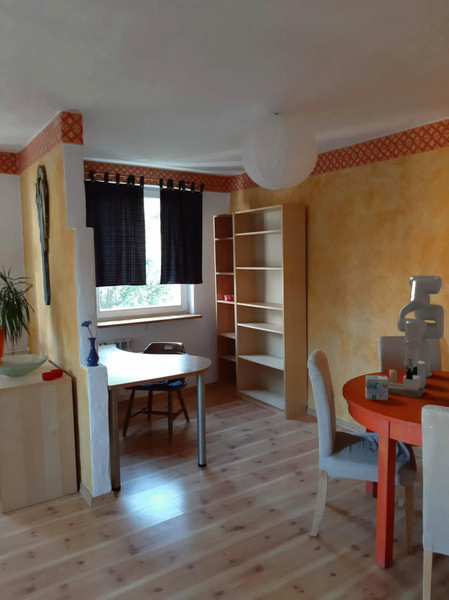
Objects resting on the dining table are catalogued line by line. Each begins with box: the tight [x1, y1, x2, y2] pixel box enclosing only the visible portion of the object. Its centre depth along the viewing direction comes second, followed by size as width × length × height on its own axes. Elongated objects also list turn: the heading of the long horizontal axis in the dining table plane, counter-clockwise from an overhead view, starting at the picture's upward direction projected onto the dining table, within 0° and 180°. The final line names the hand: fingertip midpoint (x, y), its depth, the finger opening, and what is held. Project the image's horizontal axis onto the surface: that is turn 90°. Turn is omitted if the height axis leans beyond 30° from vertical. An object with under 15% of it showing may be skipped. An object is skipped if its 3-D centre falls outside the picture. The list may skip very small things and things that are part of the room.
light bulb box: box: [364, 375, 389, 401], centre depth 233 cm, size 11×7×11 cm, turn 80°
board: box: [388, 380, 426, 399], centre depth 242 cm, size 12×20×3 cm, turn 55°
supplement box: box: [417, 361, 427, 387], centre depth 255 cm, size 7×7×13 cm
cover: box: [402, 374, 421, 391], centre depth 239 cm, size 7×7×6 cm
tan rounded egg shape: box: [388, 369, 398, 383], centre depth 259 cm, size 4×4×7 cm
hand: (411, 377), depth 238 cm, fingers open, 9 cm apart
